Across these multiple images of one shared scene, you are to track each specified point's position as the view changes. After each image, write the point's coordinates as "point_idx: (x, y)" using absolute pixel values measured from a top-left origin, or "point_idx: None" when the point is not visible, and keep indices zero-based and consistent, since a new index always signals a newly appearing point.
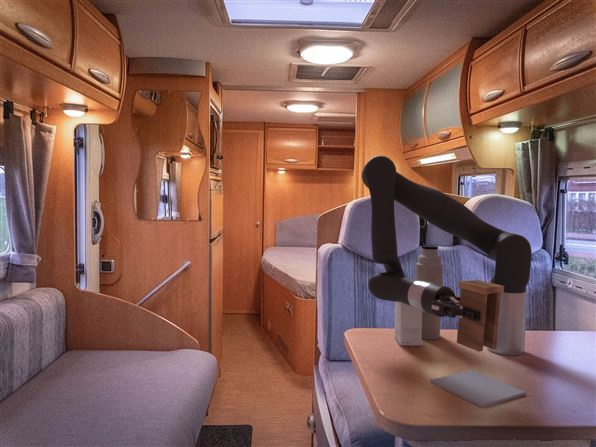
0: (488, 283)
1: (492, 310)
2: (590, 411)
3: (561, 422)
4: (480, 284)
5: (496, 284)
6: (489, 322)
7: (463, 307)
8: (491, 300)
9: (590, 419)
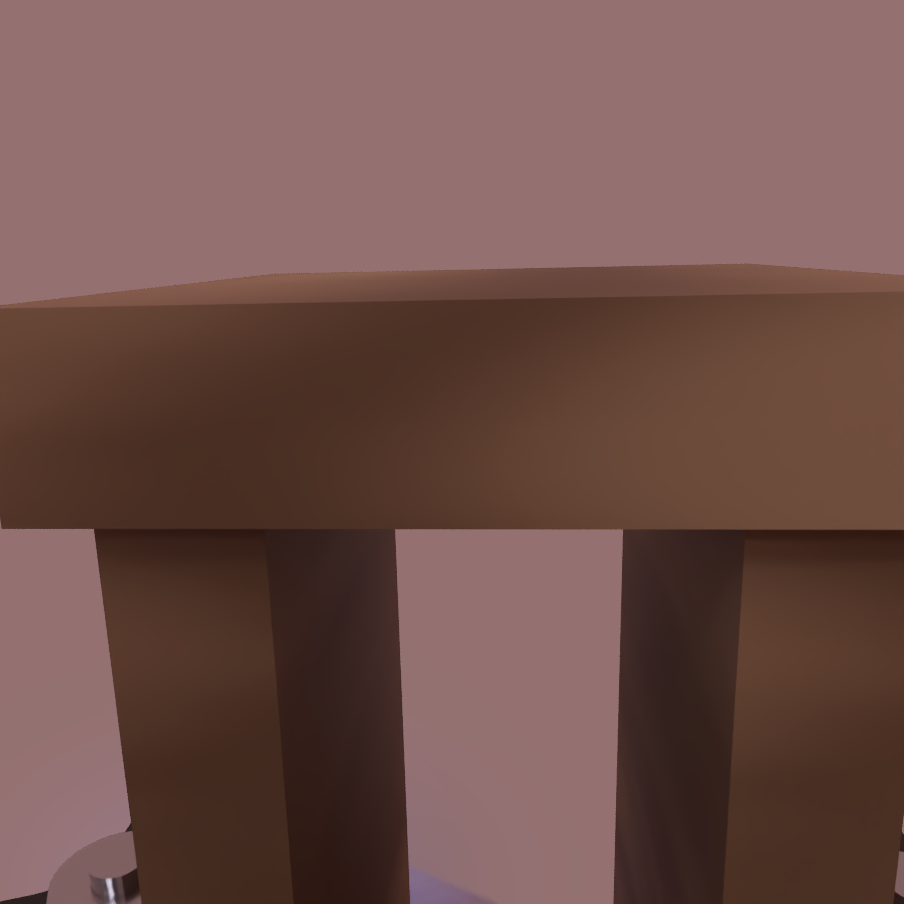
0: (292, 282)
1: (392, 686)
2: None
3: (447, 897)
4: (597, 274)
5: (251, 277)
6: (396, 886)
7: None
8: (377, 554)
9: None
